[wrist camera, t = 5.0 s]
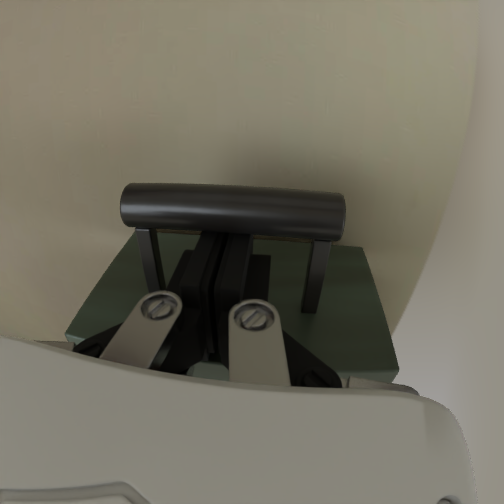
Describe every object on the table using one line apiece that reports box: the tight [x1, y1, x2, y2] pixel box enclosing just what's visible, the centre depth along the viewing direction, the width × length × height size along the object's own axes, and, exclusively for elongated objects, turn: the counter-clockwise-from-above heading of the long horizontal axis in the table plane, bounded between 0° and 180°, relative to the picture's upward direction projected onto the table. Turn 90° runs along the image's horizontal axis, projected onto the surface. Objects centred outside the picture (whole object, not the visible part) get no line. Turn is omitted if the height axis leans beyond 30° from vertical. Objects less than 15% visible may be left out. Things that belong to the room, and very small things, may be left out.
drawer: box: [65, 183, 399, 383], centre depth 15 cm, size 18×12×8 cm
